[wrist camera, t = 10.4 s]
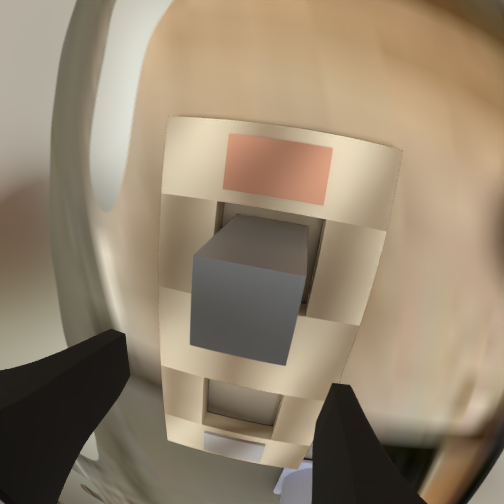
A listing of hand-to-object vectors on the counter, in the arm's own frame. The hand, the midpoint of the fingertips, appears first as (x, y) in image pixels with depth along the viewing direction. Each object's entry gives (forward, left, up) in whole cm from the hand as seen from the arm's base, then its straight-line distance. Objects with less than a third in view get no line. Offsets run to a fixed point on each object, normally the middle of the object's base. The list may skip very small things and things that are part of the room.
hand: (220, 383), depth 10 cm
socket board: (0, +4, -9) cm, 10 cm away
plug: (0, -1, -9) cm, 9 cm away
